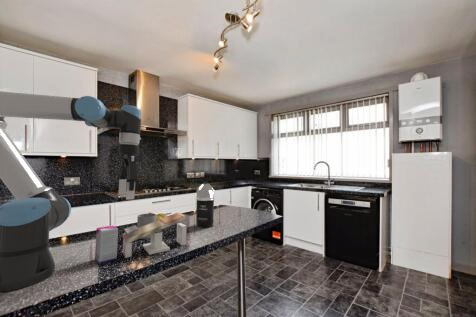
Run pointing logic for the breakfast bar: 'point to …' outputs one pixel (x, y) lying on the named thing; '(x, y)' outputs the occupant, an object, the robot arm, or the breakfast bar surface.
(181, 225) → the beam stand
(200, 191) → the spray bottle
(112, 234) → the supplement box
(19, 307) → the breakfast bar surface
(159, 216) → the bread roll
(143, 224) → the cup
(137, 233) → the beam
